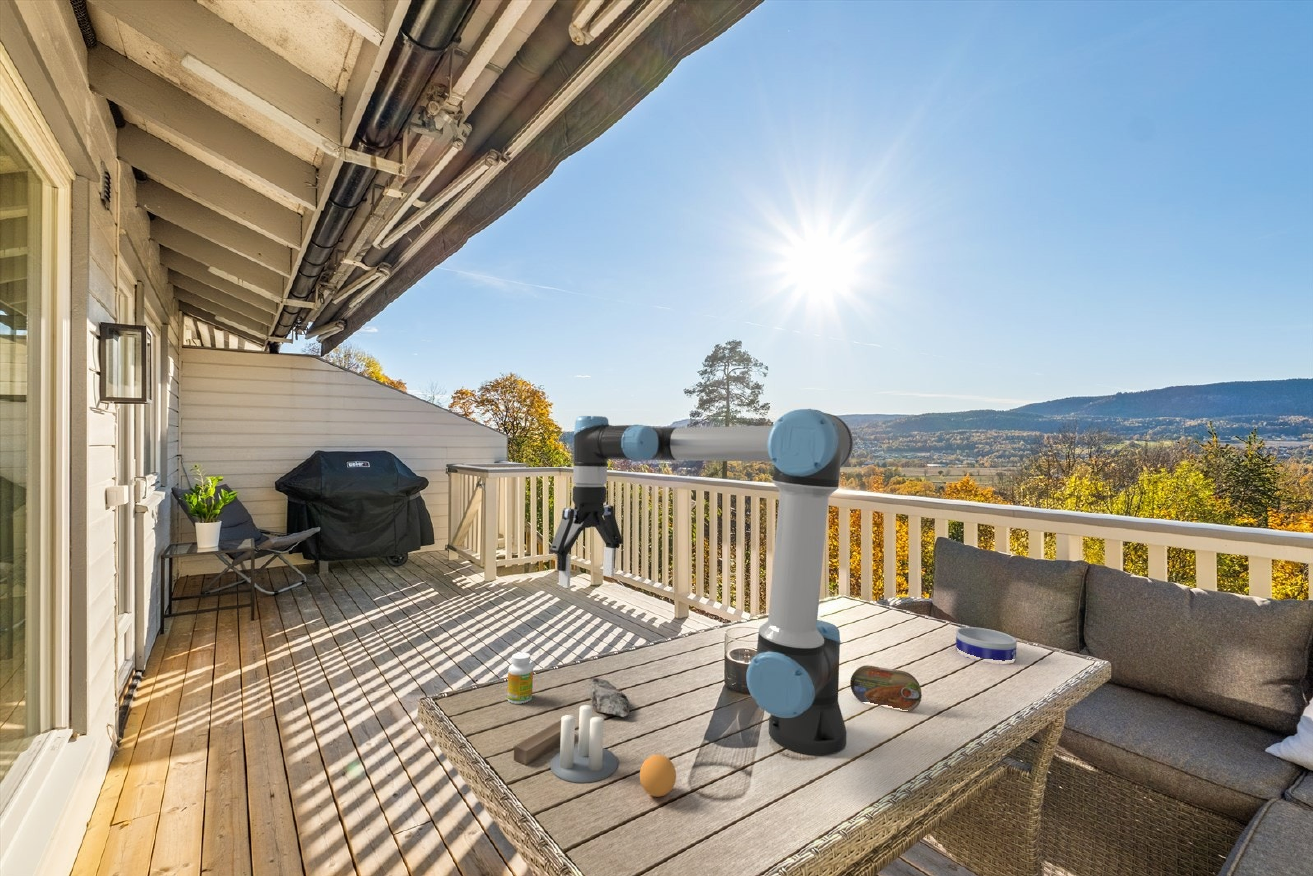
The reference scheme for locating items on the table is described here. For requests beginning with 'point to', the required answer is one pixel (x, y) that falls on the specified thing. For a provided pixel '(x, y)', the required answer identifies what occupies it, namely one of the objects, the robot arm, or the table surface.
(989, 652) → the dog bowl
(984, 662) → the table surface
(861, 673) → the tin
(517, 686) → the supplement bottle
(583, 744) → the pin
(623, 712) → the mineral rock
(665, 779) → the ball
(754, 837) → the table surface
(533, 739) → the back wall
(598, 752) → the front pin
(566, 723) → the pin
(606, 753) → the pin disc
